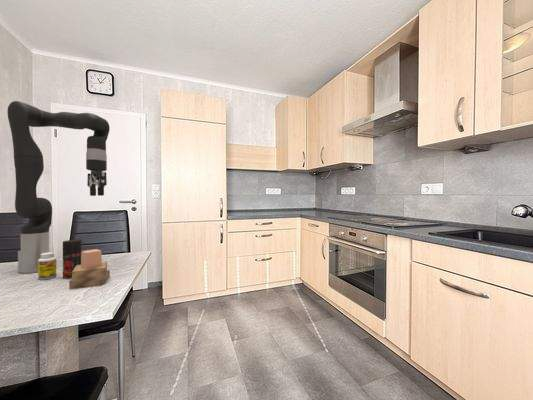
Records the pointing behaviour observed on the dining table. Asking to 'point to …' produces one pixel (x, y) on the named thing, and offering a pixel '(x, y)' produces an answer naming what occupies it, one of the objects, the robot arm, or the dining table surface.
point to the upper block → (89, 272)
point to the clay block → (91, 258)
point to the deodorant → (71, 257)
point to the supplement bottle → (47, 266)
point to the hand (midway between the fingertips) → (96, 195)
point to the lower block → (89, 282)
